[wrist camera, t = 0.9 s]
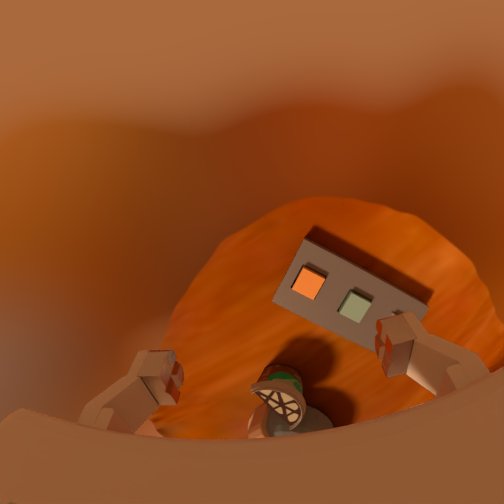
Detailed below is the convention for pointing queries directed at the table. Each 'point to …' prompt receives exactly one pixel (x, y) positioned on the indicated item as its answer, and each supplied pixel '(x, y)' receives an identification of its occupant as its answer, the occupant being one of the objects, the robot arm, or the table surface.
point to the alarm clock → (284, 423)
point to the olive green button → (354, 306)
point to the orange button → (308, 282)
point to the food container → (282, 392)
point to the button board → (343, 294)
